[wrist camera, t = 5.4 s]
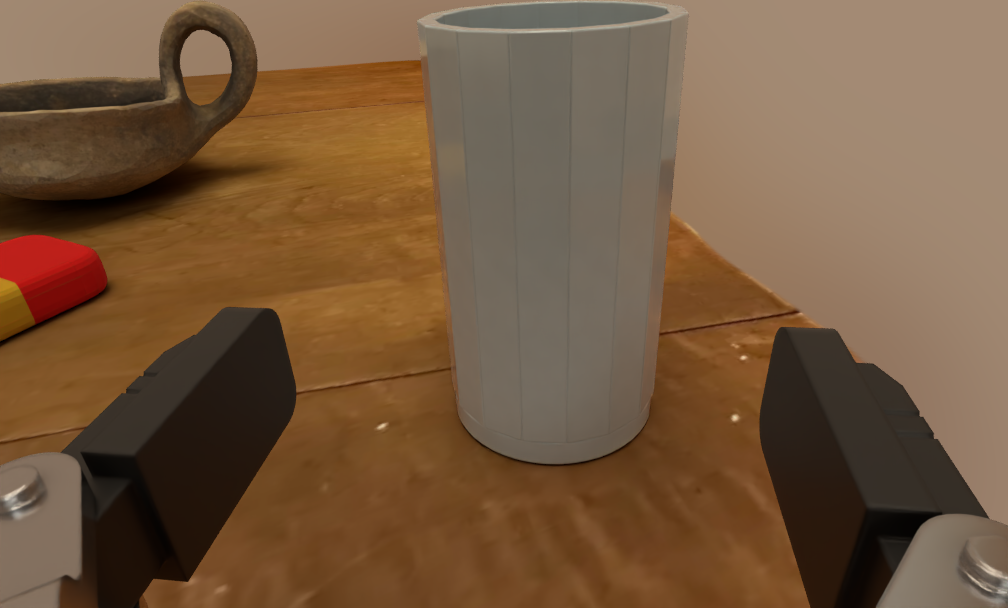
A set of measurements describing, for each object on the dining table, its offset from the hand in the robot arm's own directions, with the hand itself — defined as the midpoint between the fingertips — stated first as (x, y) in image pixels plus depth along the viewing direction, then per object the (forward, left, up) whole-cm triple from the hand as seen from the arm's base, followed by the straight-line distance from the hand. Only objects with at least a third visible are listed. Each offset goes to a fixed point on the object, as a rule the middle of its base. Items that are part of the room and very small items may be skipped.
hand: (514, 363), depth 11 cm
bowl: (+37, +1, -7) cm, 38 cm away
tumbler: (+5, -5, -7) cm, 10 cm away
